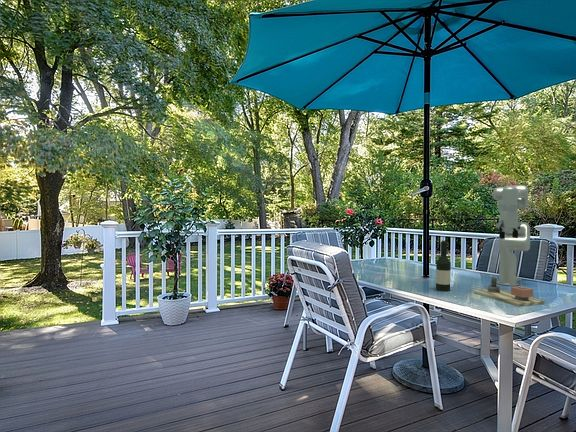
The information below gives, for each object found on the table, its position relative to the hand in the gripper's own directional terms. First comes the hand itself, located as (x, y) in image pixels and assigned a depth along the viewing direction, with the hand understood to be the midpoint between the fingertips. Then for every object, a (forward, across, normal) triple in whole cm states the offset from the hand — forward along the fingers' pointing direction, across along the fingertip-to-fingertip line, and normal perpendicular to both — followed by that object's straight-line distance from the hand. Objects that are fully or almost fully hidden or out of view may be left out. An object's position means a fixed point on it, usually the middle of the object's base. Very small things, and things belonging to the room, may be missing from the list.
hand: (508, 238), depth 213 cm
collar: (+29, +9, +17) cm, 35 cm away
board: (+32, +9, +8) cm, 34 cm away
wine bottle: (+32, +30, -18) cm, 48 cm away
